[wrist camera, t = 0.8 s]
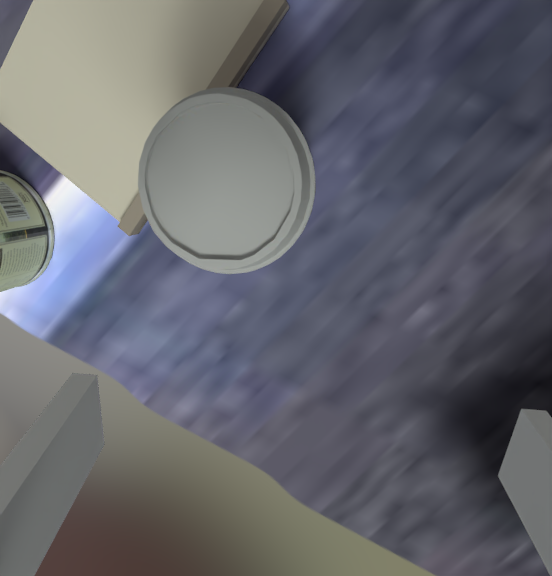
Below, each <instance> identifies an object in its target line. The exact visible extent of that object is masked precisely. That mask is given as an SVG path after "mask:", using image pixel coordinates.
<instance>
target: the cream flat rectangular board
mask: <svg viewBox="0 0 552 576" xmlns="http://www.w3.org/2000/svg"><path fill="white" fill-rule="evenodd" d="M289 8H290V7H289V5H288V3H287V1H286V0H33V2H32V4H31V6H30V9H29V11H28V13H27V15H26V17H25V19H24V21H23V23H22V25H21V27H20V29H19V32H18V34H17V36H16V38H15V40H14V42H13V44H12V46H11V48H10V50H9V52H8V54H7V57H6V59H5V61H4V63H3V65H2V67H1V69H0V123H1V124H3V125H4V126H5V127H6V128H7V129H9V130H10V131H11V132H12V133H13V134H15V135H16V136H17V137H18V138H19V139H21V140H22V141H23V142H24V143H26V144H27V145H28V146H29V147H30V148H32V149H33V150H34V151H35V152H36V153H38V154H39V155H40V156H41V157H42V158H44V159H45V160H46V161H47V162H48V163H50V164H51V165H52V166H53V167H54V168H56V169H57V170H58V171H59V172H60V173H62V174H63V175H64V176H65V177H66V178H68V179H69V180H70V181H71V182H72V183H74V184H75V185H76V186H77V187H78V188H80V189H81V190H82V191H83V192H84V193H86V194H87V195H88V196H89V197H90V198H92V199H93V200H94V201H95V202H96V203H98V204H99V205H100V206H101V207H102V208H104V209H105V210H106V211H107V212H108V213H110V214H111V215H112V216H113V217H114V218H116V219H117V220H118V221H119V222H120V223H119V225H118V227H119V228H120V229H121V230H123V231H124V232H125V233H126V234H127V235H129V236H131V235H135V234H139V232H140V231H141V229H142V228H143V226H144V225H145V223H146V222H147V220H148V219H147V217H146V215H145V213H144V211H143V208H142V203H141V198H140V193H139V189H138V173H139V161H140V158H141V154H142V151H143V147H144V144H145V141H146V140H147V138H148V136H149V134H150V133H151V131H152V129H153V127H154V126H155V125H156V124H157V122H158V121H159V120H160V119H161V118H162V117H163V116H164V115H165V114H166V113H167V112H168V111H169V110H170V108H171V107H173V106H174V105H175V104H177V103H178V102H180V101H181V100H182V99H184V98H186V97H188V96H190V95H193V94H195V93H197V92H199V91H202V90H207V89H211V88H221V87H233V88H236V87H237V86H238V84H239V83H240V81H241V80H242V78H243V77H244V75H245V74H246V72H247V71H248V69H249V68H250V66H251V65H252V63H253V62H254V60H255V59H256V57H257V56H258V54H259V53H260V51H261V50H262V48H263V47H264V45H265V44H266V42H267V41H268V39H269V38H270V36H271V35H272V33H273V32H274V30H275V29H276V27H277V26H278V24H279V23H280V21H281V20H282V18H283V17H284V16H285V14H286V13H287V11H288V10H289Z"/></svg>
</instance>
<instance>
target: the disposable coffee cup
mask: <svg viewBox="0 0 552 576" xmlns="http://www.w3.org/2000/svg"><path fill="white" fill-rule="evenodd" d="M138 189H139V193H140V198H141V203H142V208H143V211H144V213H145V215H146V217H147V219H148V221H149V223H150V225H151V227H152V229H153V231H154V233H155V234H156V235H157V236H158V237H159V238H160V239H161V241H162V242H163V243H164V244H165V245H166V246H167V247H168V248H169V249H170V250H172V251H173V252H174V253H175V254H177V255H178V256H179V257H181V258H183V259H184V260H185V261H187V262H188V263H191V264H193V265H195V266H197V267H199V268H201V269H204V270H208V271H212V272H216V273H225V274H236V273H246V272H250V271H254V270H257V269H259V268H262V267H264V266H267V265H268V264H270V263H272V262H273V261H275V260H277V259H278V258H280V257H281V256H282V255H283V254H284V253H285V252H286V251H287V250H288V249H289V248H290V247H292V245H293V244H294V243H295V241H296V240H297V239H298V237H299V236H300V235H301V233H302V232H303V230H304V228H305V226H306V224H307V221H308V219H309V216H310V214H311V210H312V207H313V202H314V196H315V172H314V164H313V159H312V156H311V153H310V150H309V147H308V145H307V142H306V140H305V138H304V136H303V135H302V133H301V131H300V129H299V128H298V127H297V125H296V124H295V123H294V121H293V120H292V119H291V118H290V116H289V115H288V114H287V113H286V112H285V111H283V110H282V109H281V108H280V107H279V106H278V105H276V104H275V103H273V102H272V101H270V100H269V99H267V98H266V97H264V96H261V95H259V94H257V93H255V92H252V91H248V90H245V89H239V88H233V87H221V88H211V89H207V90H202V91H199V92H197V93H195V94H193V95H190V96H188V97H186V98H184V99H182V100H181V101H180V102H178V103H177V104H175V105H174V106H173V107H171V108H170V110H169V111H168V112H167V113H166V114H165V115H164V116H163V117H162V118H161V119H160V120H159V121H158V122H157V124H156V125H155V126H154V127H153V129H152V131H151V133H150V134H149V136H148V138H147V140H146V141H145V144H144V147H143V151H142V154H141V158H140V161H139V173H138Z"/></svg>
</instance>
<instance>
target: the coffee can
mask: <svg viewBox="0 0 552 576" xmlns="http://www.w3.org/2000/svg"><path fill="white" fill-rule="evenodd" d="M53 247H54V230H53V224H52V220H51V217H50V214H49V212H48V210H47V208H46V206H45V204H44V202H43V201H42V199H41V198H40V196H39V195H38V194H37V192H36V191H35V190H34V189H33V188H32V187H31V186H30V185H29V184H28V183H26V182H25V181H24V180H22V179H21V178H19V177H18V176H16V175H14V174H11V173H9V172H6V171H1V170H0V292H2V291H5V290H8V289H11V288H14V287H19V286H24V285H27V284H29V283H31V282H33V281H34V280H36V279H37V278H38V277H39V276H40V275H42V273H43V272H44V271H45V269H46V268H47V266H48V264H49V262H50V260H51V258H52V252H53Z"/></svg>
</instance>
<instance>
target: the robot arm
mask: <svg viewBox="0 0 552 576" xmlns="http://www.w3.org/2000/svg"><path fill="white" fill-rule="evenodd" d="M103 446H104V435H103V426H102V416H101V407H100V397H99V387H98V378H97V375H90V374H78V373H72V375H71V376H70V377H69V379H68V380H67V381H66V382H65V384H64V385H63V386H62V387H61V389H60V390H59V391H58V393H57V394H56V395H55V396H54V398H53V399H52V400H51V401H50V403H49V404H48V405H47V407H46V408H45V409H44V410H43V412H42V413H41V414H40V415H39V417H38V418H37V419H36V421H35V422H34V423H33V424H32V426H31V427H30V428H29V430H28V431H27V432H26V433H25V435H24V436H23V437H22V439H21V440H20V441H19V442H18V444H17V445H16V446H15V447H14V449H13V450H12V451H11V453H10V454H9V455H8V456H7V458H6V459H5V460H4V462H3V463H2V464H1V466H0V576H34V575H35V573H36V571H37V569H38V567H39V566H40V564H41V562H42V560H43V558H44V556H45V554H46V553H47V550H48V549H49V547H50V545H51V543H52V541H53V540H54V538H55V536H56V534H57V532H58V530H59V528H60V526H61V524H62V523H63V521H64V519H65V517H66V515H67V513H68V511H69V510H70V508H71V506H72V504H73V502H74V500H75V498H76V496H77V495H78V493H79V491H80V489H81V487H82V485H83V483H84V482H85V480H86V478H87V476H88V474H89V472H90V470H91V468H92V467H93V465H94V463H95V461H96V459H97V457H98V455H99V453H100V452H101V450H102V448H103ZM498 477H499V479H500V481H501V483H502V485H503V487H504V489H505V491H506V492H507V494H508V496H509V498H510V500H511V502H512V504H513V506H514V508H515V509H516V511H517V513H518V515H519V517H520V519H521V521H522V523H523V525H524V527H525V528H526V530H527V532H528V534H529V536H530V538H531V540H532V542H533V544H534V546H535V547H536V549H537V551H538V553H539V555H540V557H541V559H542V561H543V563H544V564H545V566H546V568H547V570H548V572H549V574H550V576H552V417H551V416H550V415H549V414H548V412H547V411H544V410H531V409H521V411H520V414H519V417H518V420H517V422H516V425H515V428H514V431H513V434H512V437H511V440H510V442H509V445H508V448H507V451H506V454H505V457H504V460H503V462H502V465H501V468H500V471H499V474H498Z"/></svg>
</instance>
